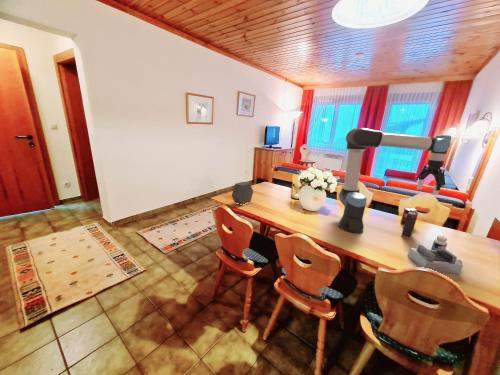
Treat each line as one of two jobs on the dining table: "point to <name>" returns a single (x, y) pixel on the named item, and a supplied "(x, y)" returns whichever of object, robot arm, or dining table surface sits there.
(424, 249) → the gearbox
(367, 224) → the dining table surface
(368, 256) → the dining table surface
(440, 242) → the pill bottle
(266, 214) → the dining table surface
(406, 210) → the soda can
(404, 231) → the supplement box
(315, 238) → the dining table surface
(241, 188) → the planter
